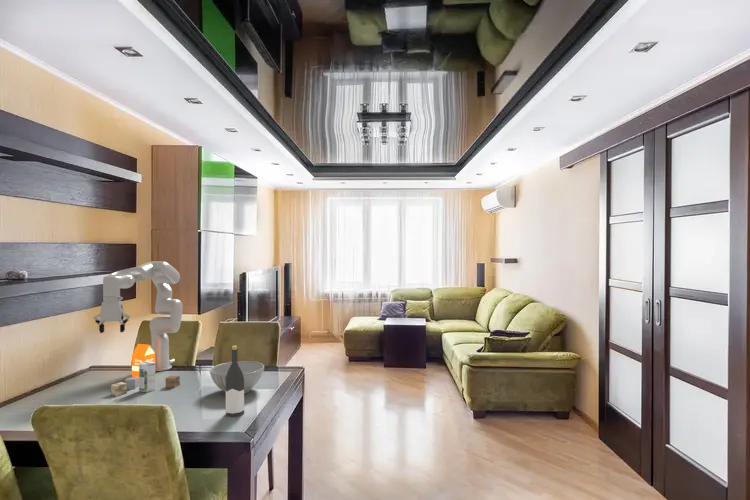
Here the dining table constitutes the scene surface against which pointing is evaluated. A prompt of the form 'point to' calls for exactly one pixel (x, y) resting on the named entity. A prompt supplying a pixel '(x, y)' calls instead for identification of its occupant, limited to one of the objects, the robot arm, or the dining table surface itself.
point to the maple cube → (119, 389)
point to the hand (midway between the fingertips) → (112, 332)
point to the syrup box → (146, 376)
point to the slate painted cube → (132, 382)
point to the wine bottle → (234, 388)
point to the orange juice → (141, 357)
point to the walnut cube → (172, 381)
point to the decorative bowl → (248, 368)
